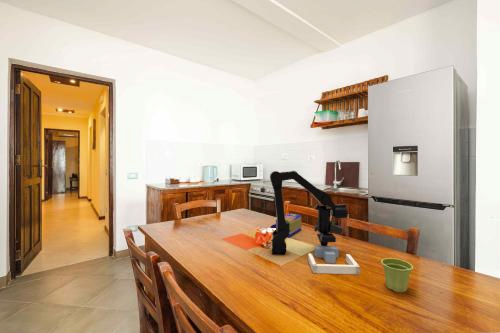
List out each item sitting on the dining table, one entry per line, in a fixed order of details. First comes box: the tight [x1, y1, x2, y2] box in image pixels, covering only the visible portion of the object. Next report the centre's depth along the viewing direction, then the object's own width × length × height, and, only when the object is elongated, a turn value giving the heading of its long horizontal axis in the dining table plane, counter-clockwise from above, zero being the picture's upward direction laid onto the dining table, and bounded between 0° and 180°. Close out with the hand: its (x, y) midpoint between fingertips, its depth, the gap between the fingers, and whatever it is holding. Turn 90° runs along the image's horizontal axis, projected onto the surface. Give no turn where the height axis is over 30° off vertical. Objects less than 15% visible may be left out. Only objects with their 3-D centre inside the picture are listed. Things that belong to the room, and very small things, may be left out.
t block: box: [314, 245, 339, 264], centre depth 110 cm, size 10×10×4 cm
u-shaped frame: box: [307, 253, 361, 275], centre depth 102 cm, size 18×12×3 cm
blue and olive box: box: [270, 213, 303, 238], centre depth 148 cm, size 10×25×10 cm, turn 145°
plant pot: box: [381, 257, 414, 293], centre depth 84 cm, size 9×9×9 cm
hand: (324, 250), depth 117 cm, fingers closed
